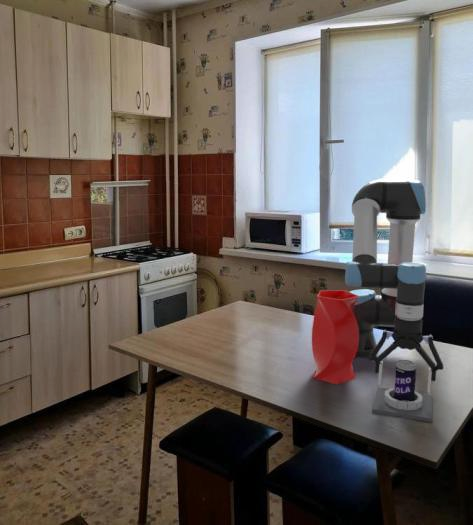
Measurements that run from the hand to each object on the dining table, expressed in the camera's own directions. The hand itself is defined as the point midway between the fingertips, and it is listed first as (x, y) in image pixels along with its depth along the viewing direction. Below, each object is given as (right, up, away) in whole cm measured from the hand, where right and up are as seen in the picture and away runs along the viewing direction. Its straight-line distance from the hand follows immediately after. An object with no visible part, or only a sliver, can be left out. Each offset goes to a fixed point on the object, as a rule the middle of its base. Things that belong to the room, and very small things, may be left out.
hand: (403, 387), depth 148 cm
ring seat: (0, -5, +1) cm, 6 cm away
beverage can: (0, -5, +1) cm, 5 cm away
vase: (-16, -2, +22) cm, 27 cm away
